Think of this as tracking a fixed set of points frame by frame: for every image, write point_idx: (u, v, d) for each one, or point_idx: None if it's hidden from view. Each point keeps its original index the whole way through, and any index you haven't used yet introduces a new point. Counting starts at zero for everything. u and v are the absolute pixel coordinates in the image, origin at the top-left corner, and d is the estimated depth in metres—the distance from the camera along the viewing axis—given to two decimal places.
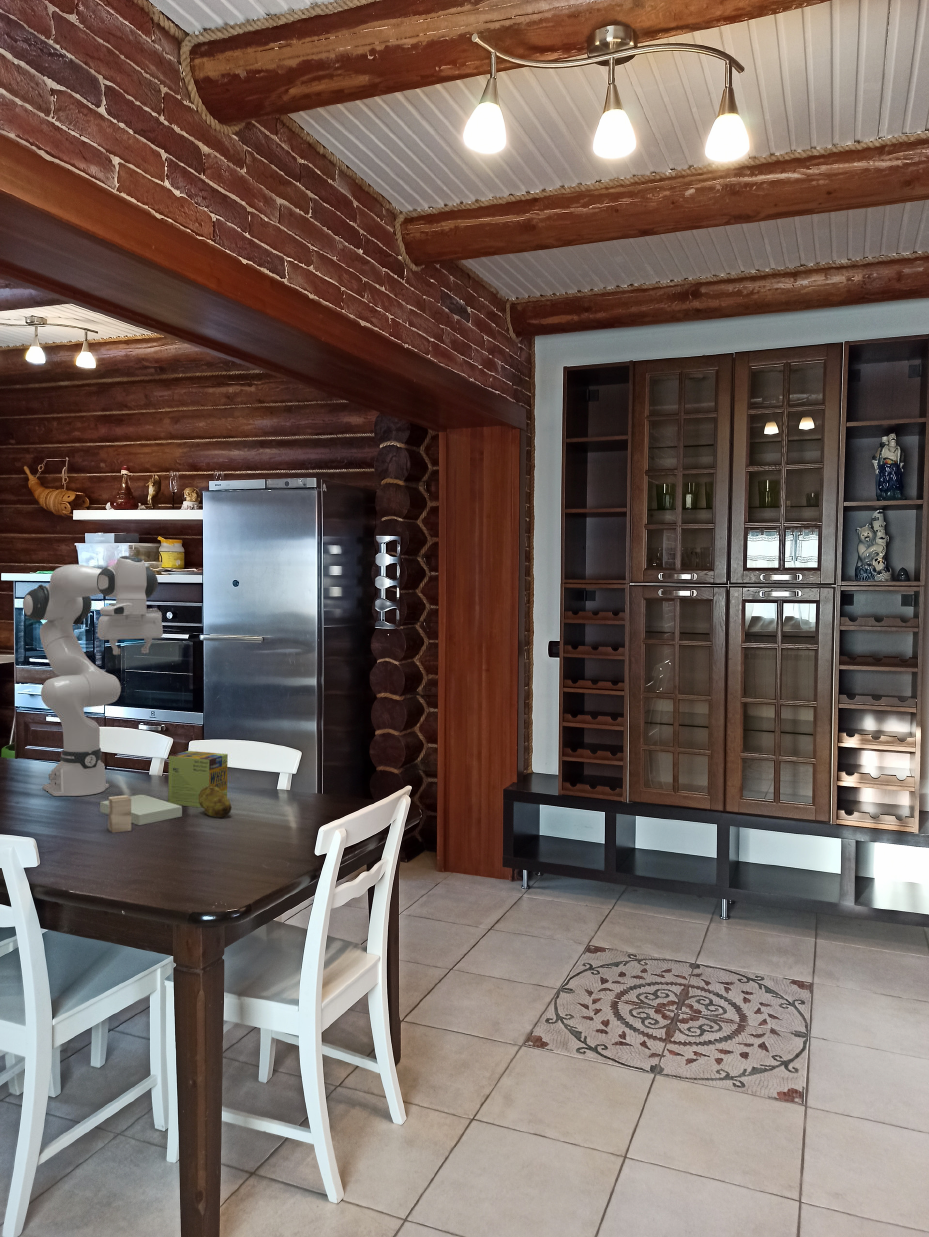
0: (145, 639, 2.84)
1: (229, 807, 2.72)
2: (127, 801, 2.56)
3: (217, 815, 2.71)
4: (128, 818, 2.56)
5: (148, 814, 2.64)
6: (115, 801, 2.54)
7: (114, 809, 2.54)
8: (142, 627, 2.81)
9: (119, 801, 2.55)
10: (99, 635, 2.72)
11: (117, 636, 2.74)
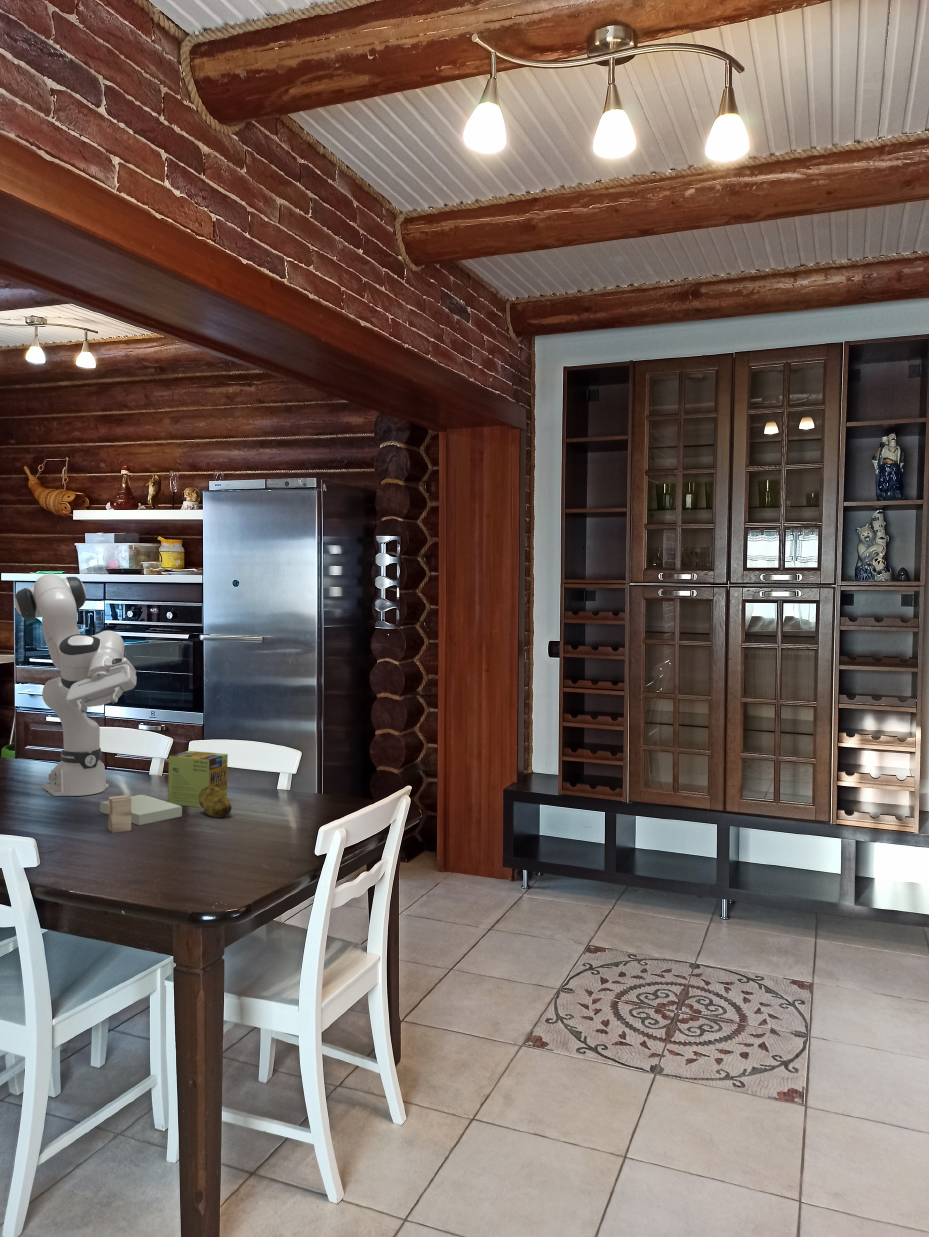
0: (82, 700, 2.62)
1: (229, 807, 2.72)
2: (127, 801, 2.56)
3: (217, 815, 2.71)
4: (128, 818, 2.56)
5: (148, 814, 2.64)
6: (115, 801, 2.54)
7: (114, 809, 2.54)
8: None
9: (119, 801, 2.55)
10: (132, 680, 2.62)
11: None
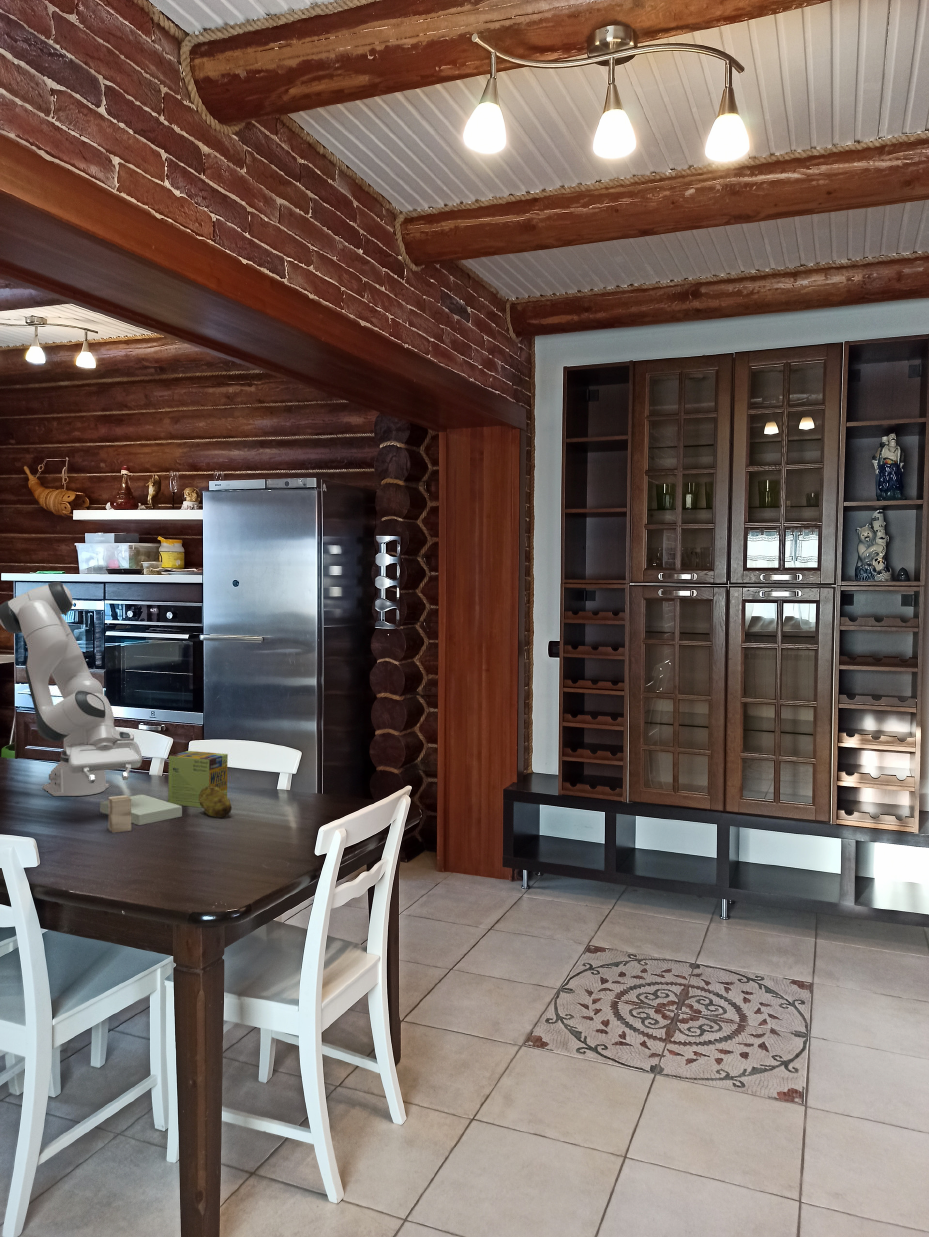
0: (88, 769, 2.63)
1: (229, 807, 2.72)
2: (127, 801, 2.56)
3: (217, 815, 2.71)
4: (128, 818, 2.56)
5: (148, 814, 2.64)
6: (115, 801, 2.54)
7: (114, 809, 2.54)
8: None
9: (119, 801, 2.55)
10: None
11: None
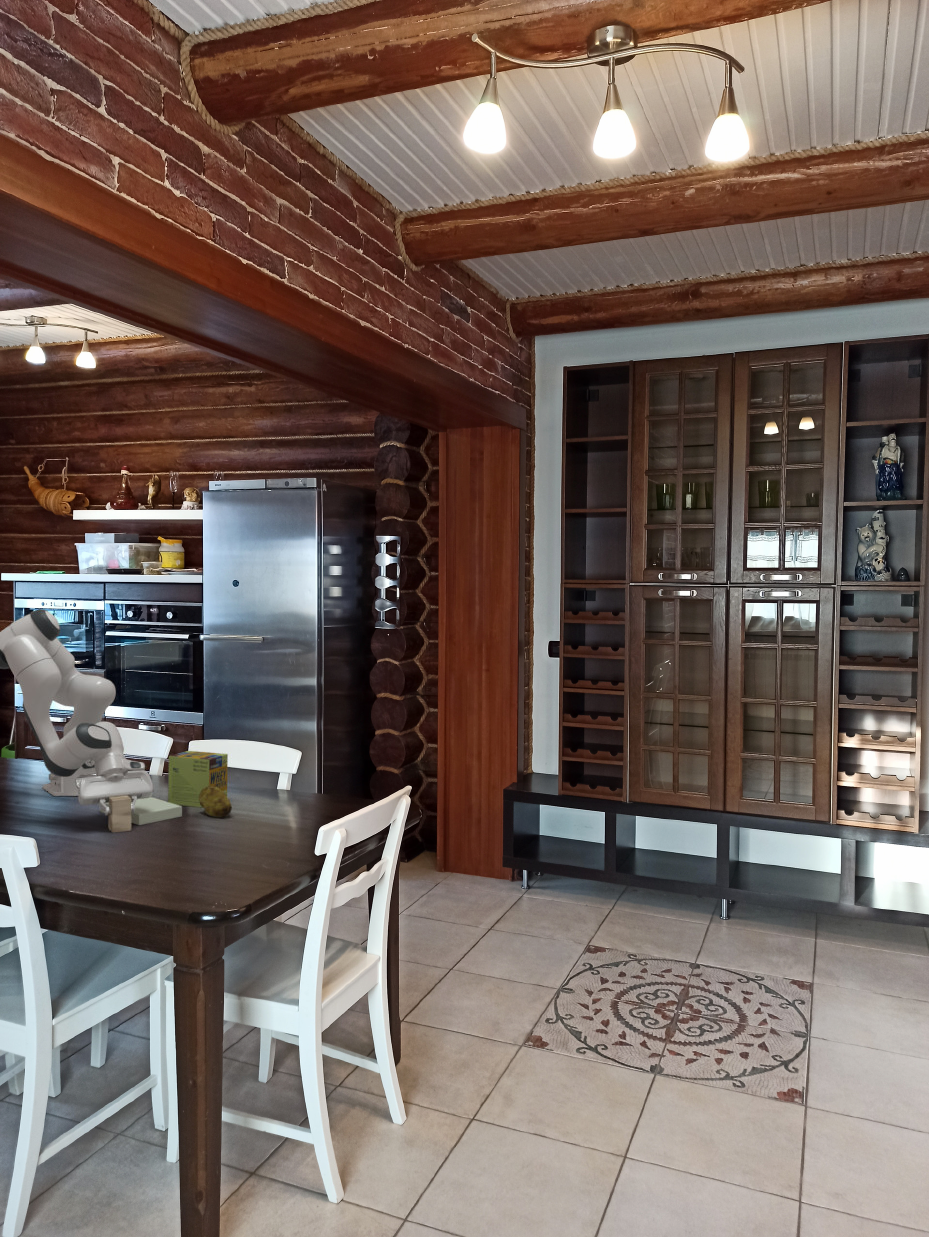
0: None
1: (229, 807, 2.72)
2: (127, 801, 2.56)
3: (217, 815, 2.71)
4: (128, 818, 2.56)
5: (148, 814, 2.64)
6: (115, 801, 2.54)
7: (114, 809, 2.54)
8: None
9: (119, 801, 2.55)
10: None
11: None
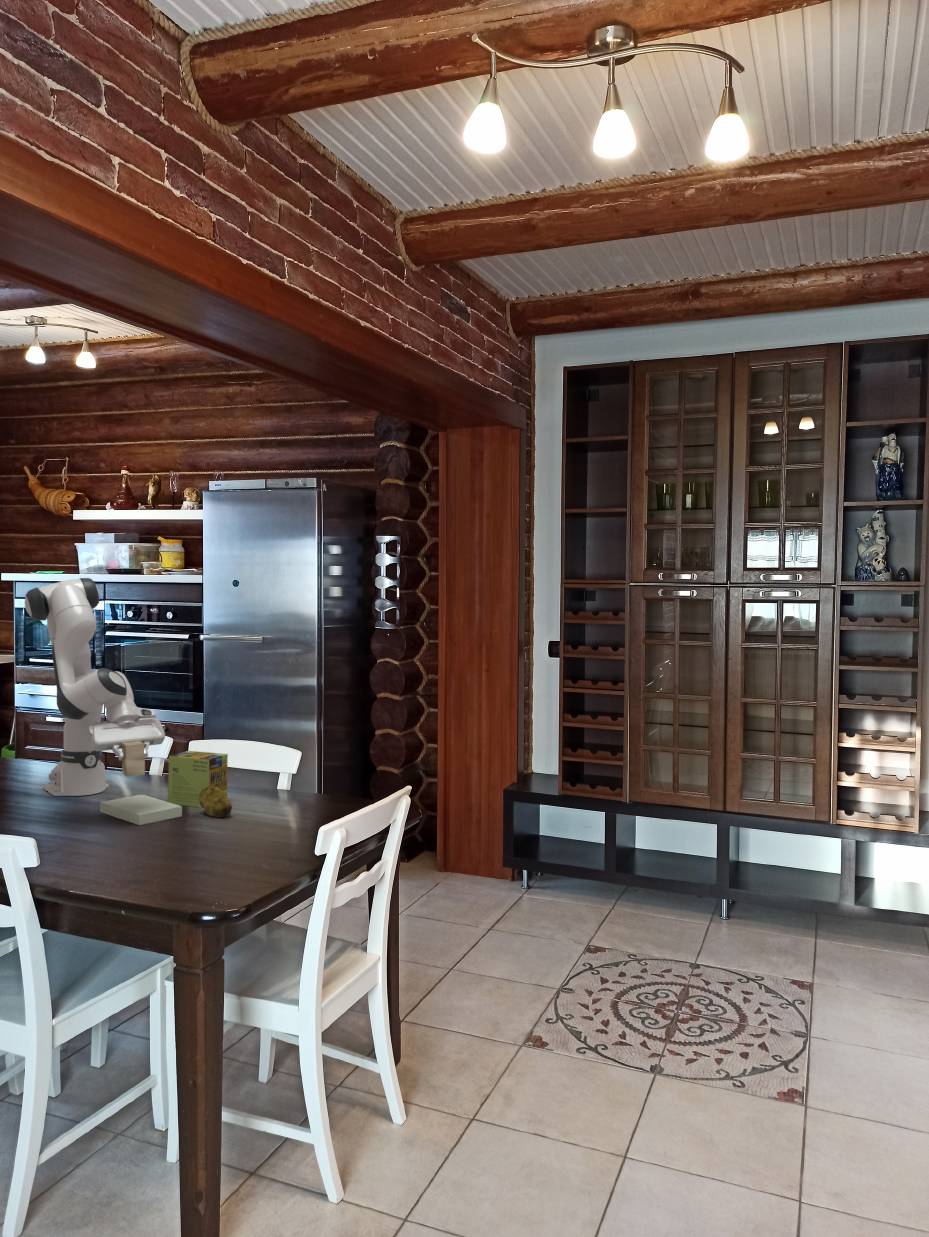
0: None
1: (229, 807, 2.72)
2: (140, 746, 2.61)
3: (217, 815, 2.71)
4: (142, 762, 2.62)
5: (148, 814, 2.64)
6: (128, 746, 2.60)
7: (128, 754, 2.60)
8: None
9: (132, 746, 2.60)
10: None
11: None
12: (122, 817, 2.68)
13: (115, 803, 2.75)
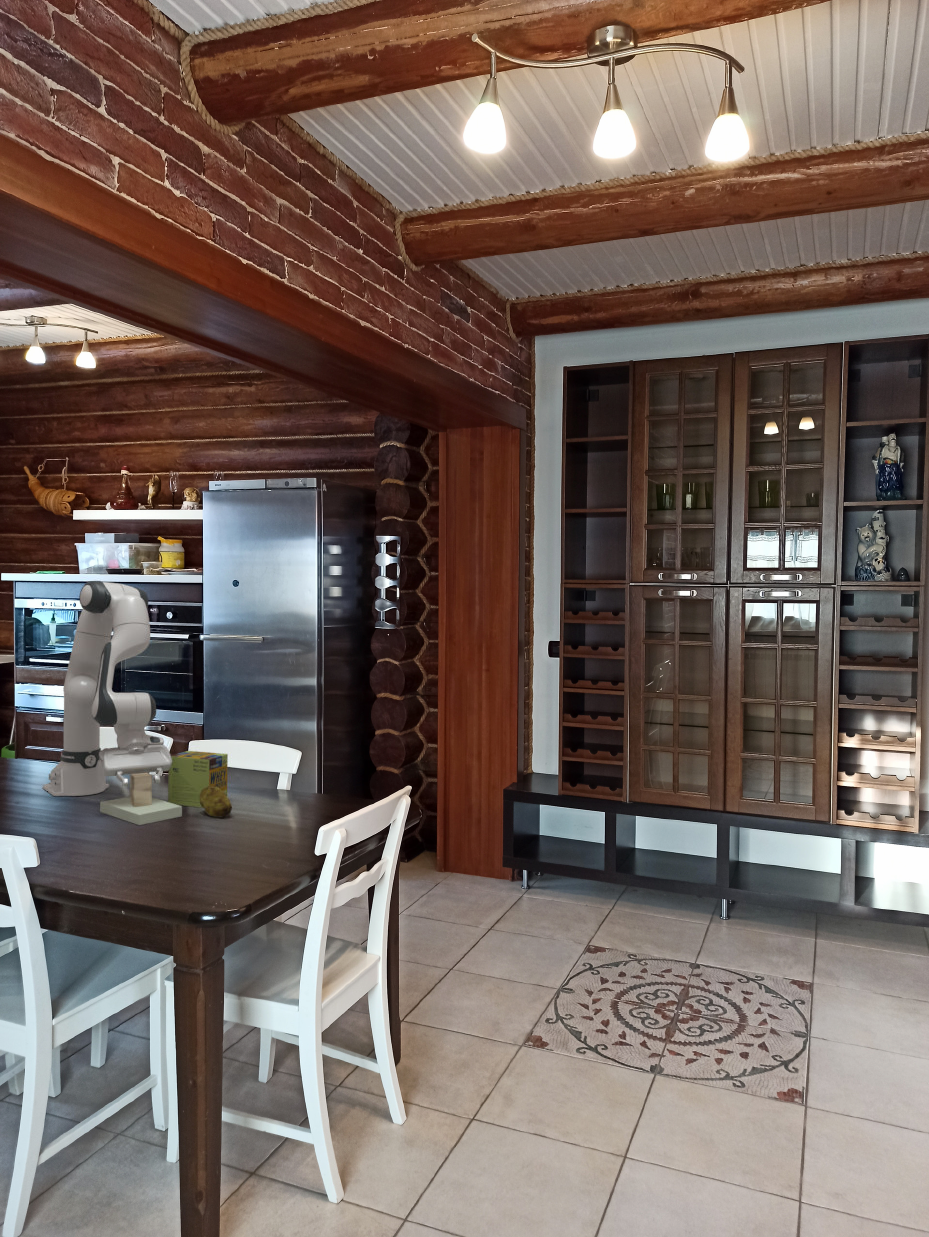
0: None
1: (229, 807, 2.72)
2: (147, 778, 2.73)
3: (217, 815, 2.71)
4: (149, 793, 2.73)
5: (148, 814, 2.64)
6: (137, 777, 2.71)
7: (136, 785, 2.71)
8: None
9: (140, 777, 2.72)
10: None
11: None
12: (122, 817, 2.68)
13: (115, 803, 2.75)
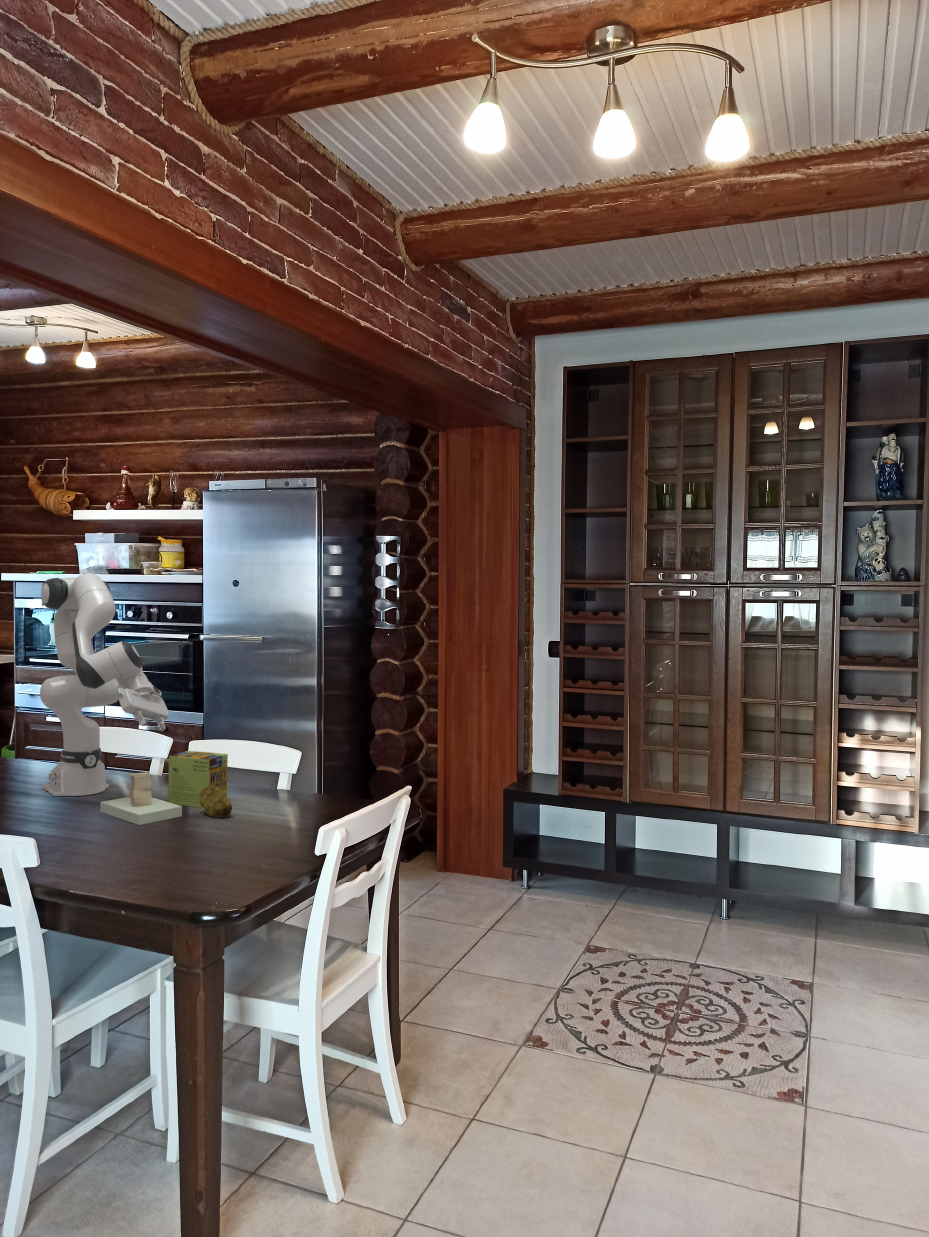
0: None
1: (230, 807, 2.72)
2: (147, 778, 2.73)
3: (218, 815, 2.71)
4: (149, 793, 2.73)
5: (148, 814, 2.64)
6: (137, 777, 2.71)
7: (136, 785, 2.71)
8: None
9: (140, 777, 2.72)
10: None
11: None
12: (122, 817, 2.68)
13: (115, 803, 2.75)
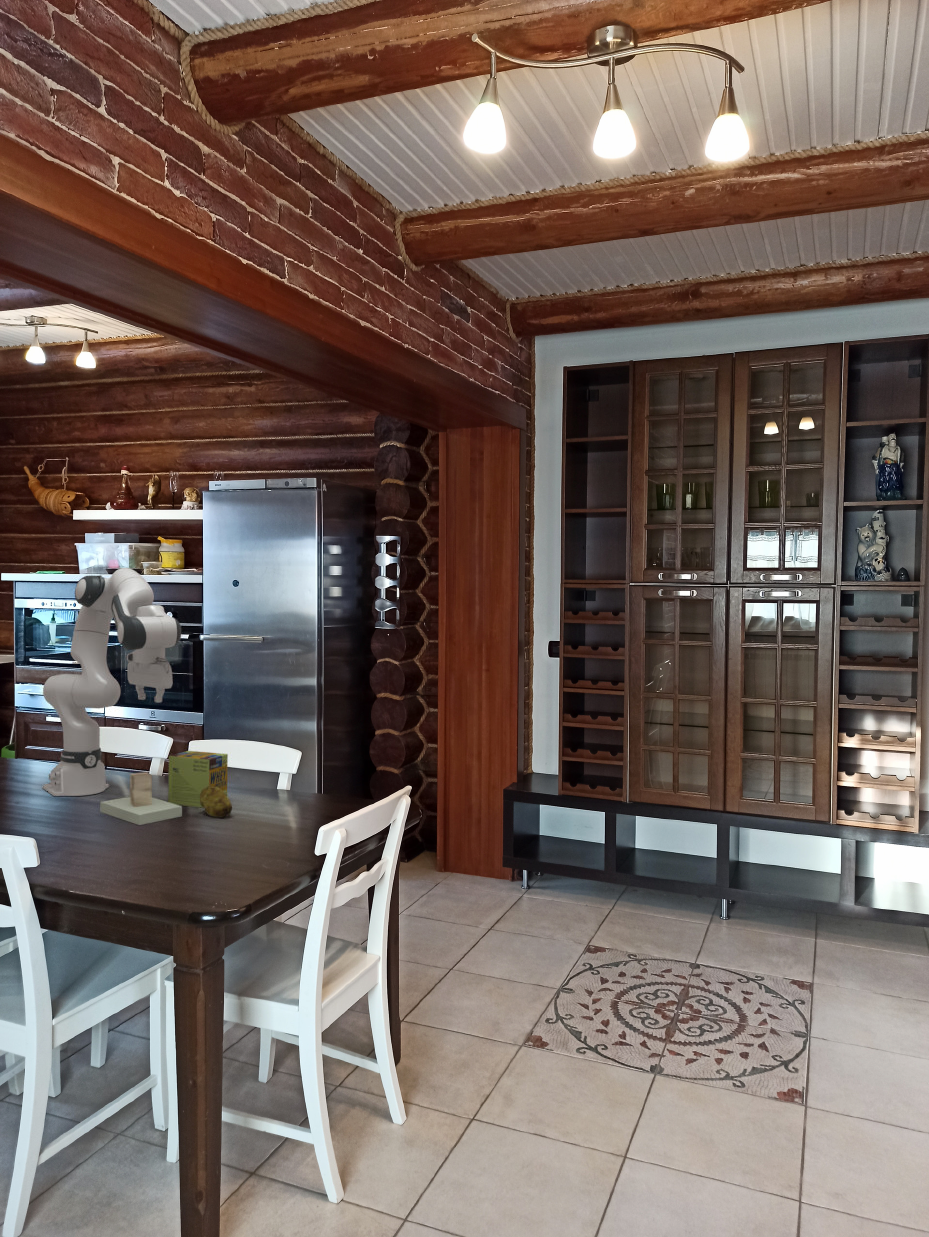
0: None
1: (230, 807, 2.72)
2: (147, 778, 2.73)
3: (218, 815, 2.71)
4: (149, 793, 2.73)
5: (148, 814, 2.64)
6: (137, 777, 2.71)
7: (136, 785, 2.71)
8: (149, 675, 2.80)
9: (140, 777, 2.72)
10: None
11: (135, 682, 2.85)
12: (122, 817, 2.68)
13: (115, 803, 2.75)
